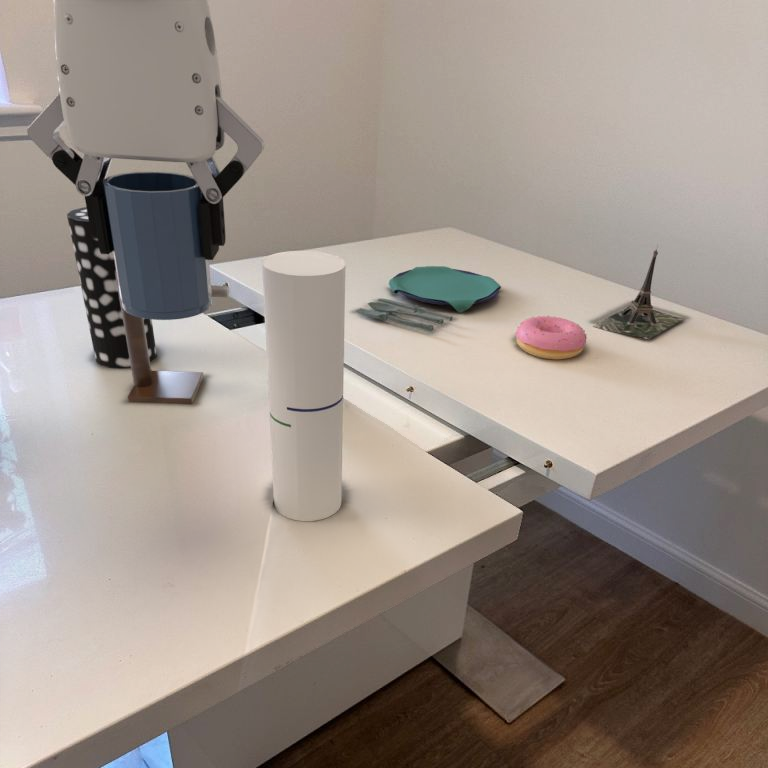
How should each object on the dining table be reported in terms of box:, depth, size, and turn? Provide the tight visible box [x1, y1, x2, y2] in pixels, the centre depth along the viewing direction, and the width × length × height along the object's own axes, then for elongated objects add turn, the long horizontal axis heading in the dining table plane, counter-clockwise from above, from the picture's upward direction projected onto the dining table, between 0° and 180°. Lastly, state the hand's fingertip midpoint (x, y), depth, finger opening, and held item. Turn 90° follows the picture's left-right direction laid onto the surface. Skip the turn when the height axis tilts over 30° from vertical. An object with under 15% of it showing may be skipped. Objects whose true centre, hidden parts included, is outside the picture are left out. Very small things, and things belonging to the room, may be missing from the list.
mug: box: [102, 171, 213, 321], centre depth 56 cm, size 11×7×9 cm, turn 1°
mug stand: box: [115, 271, 230, 405], centre depth 90 cm, size 13×8×16 cm, turn 91°
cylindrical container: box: [261, 250, 346, 522], centre depth 69 cm, size 7×7×25 cm
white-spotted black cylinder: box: [66, 206, 158, 370], centre depth 97 cm, size 8×8×20 cm
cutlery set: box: [355, 265, 502, 332], centre depth 128 cm, size 20×30×2 cm, turn 148°
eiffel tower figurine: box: [592, 244, 686, 340], centre depth 121 cm, size 15×10×13 cm
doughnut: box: [515, 315, 588, 360], centre depth 112 cm, size 11×11×4 cm
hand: (161, 250), depth 54 cm, fingers closed on mug, 6 cm apart
